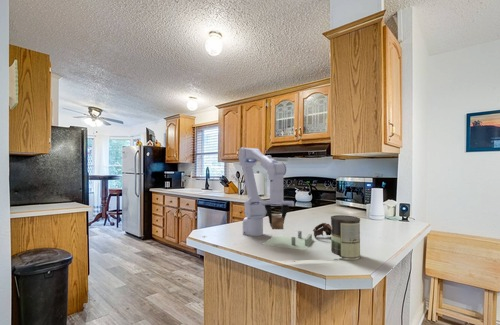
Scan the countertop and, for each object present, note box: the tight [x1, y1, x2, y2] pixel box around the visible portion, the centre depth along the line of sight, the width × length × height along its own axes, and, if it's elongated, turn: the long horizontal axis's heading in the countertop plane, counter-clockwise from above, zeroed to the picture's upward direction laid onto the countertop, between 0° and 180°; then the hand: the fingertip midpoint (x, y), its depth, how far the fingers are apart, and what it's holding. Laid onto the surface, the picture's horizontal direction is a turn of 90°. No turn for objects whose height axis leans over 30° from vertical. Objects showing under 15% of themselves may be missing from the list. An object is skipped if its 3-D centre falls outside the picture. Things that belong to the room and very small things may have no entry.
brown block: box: [269, 213, 285, 230], centre depth 104 cm, size 4×8×5 cm, turn 2°
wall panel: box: [261, 230, 314, 251], centre depth 106 cm, size 18×18×4 cm
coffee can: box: [330, 214, 361, 261], centre depth 92 cm, size 10×10×14 cm
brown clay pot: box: [312, 222, 331, 238], centre depth 117 cm, size 12×10×8 cm
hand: (276, 223), depth 104 cm, fingers closed on brown block, 4 cm apart
